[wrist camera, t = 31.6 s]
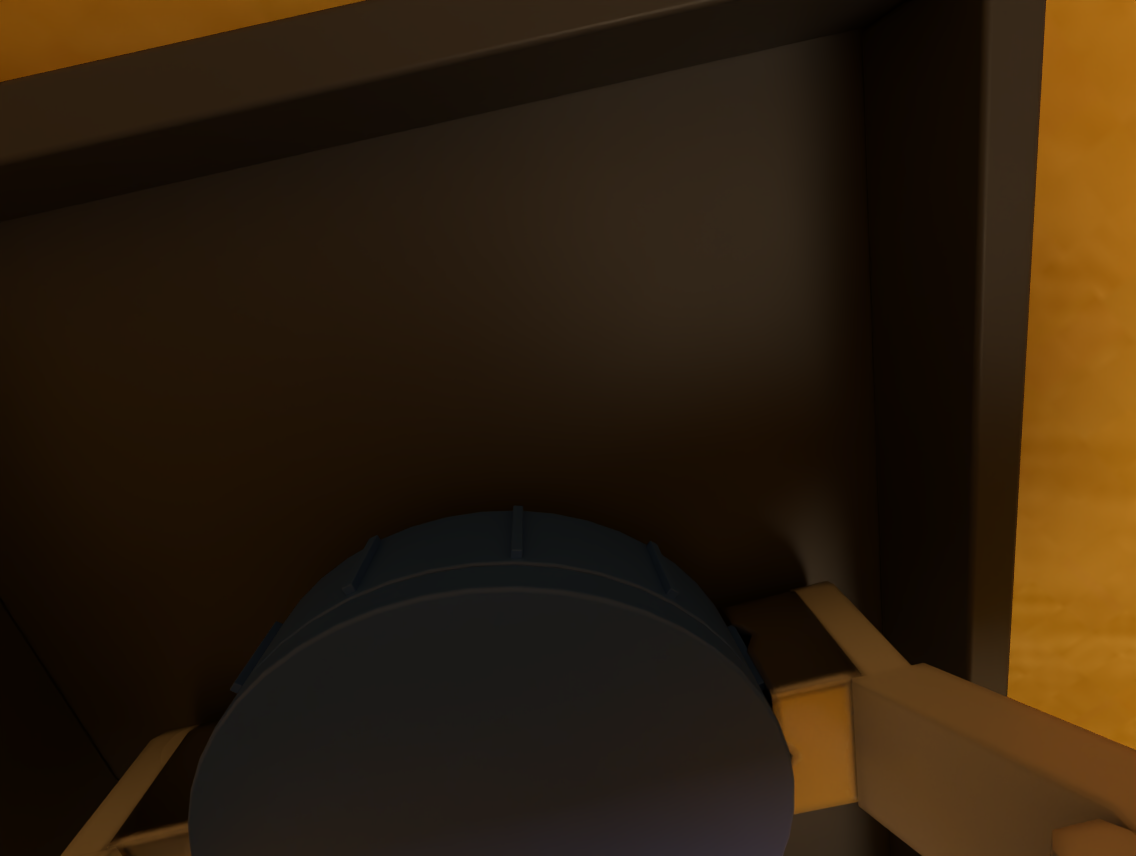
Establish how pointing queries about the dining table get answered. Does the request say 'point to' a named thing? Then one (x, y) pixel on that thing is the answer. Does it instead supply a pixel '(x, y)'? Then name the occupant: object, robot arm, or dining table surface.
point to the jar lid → (498, 708)
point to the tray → (503, 331)
